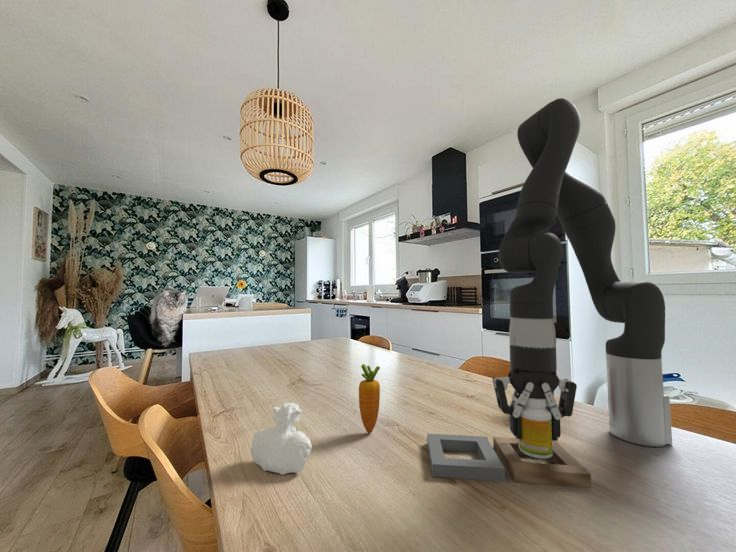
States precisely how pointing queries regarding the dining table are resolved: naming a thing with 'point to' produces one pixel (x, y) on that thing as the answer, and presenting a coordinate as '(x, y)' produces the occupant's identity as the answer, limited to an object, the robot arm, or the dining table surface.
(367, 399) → the carrot
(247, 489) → the dining table surface
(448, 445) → the socket
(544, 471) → the socket
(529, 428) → the supplement bottle
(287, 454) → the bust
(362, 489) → the dining table surface
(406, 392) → the dining table surface
